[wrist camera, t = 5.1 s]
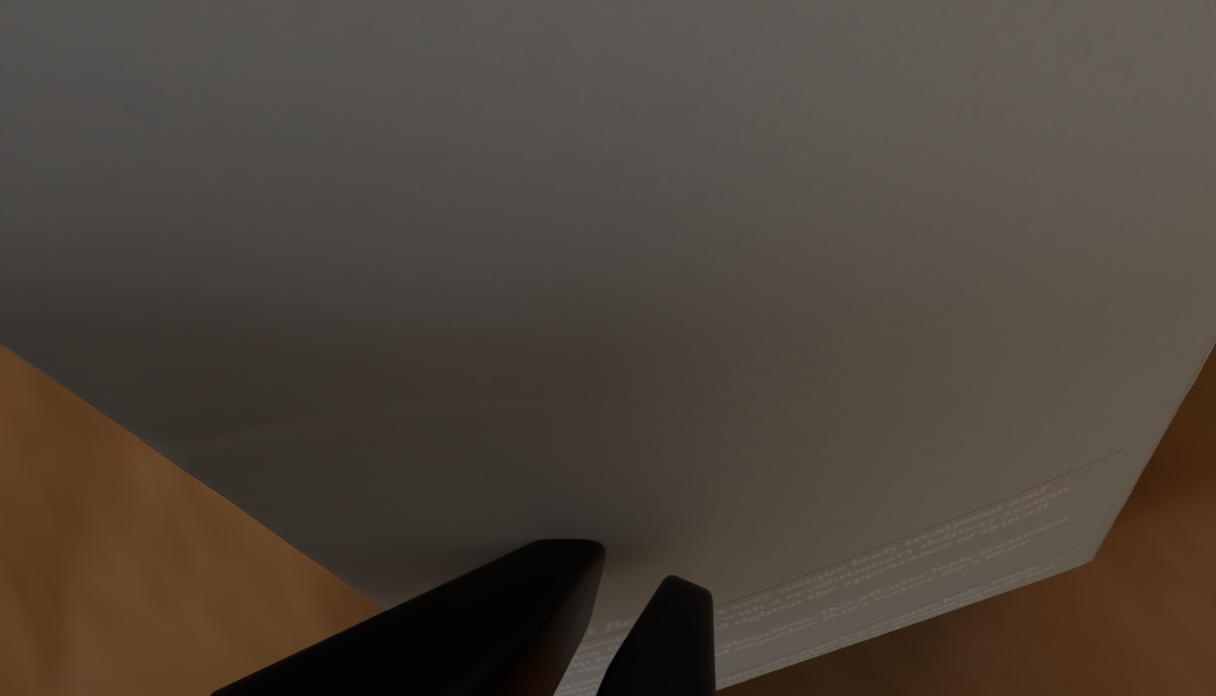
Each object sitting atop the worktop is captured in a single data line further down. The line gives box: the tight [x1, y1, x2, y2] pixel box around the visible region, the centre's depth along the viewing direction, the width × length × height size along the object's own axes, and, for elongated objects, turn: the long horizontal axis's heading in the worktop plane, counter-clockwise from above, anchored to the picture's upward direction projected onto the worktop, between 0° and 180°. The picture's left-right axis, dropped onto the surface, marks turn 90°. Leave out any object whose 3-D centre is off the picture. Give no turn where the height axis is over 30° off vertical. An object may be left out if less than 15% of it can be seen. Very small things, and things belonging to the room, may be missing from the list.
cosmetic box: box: [0, 0, 1216, 696], centre depth 10 cm, size 8×7×16 cm
